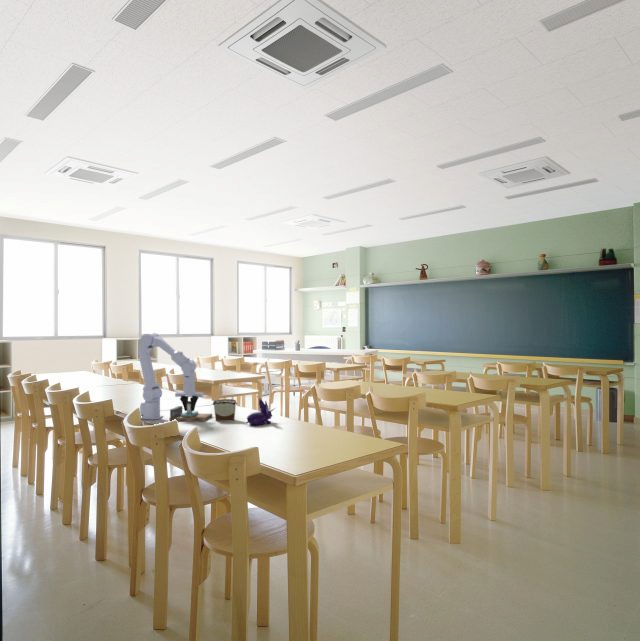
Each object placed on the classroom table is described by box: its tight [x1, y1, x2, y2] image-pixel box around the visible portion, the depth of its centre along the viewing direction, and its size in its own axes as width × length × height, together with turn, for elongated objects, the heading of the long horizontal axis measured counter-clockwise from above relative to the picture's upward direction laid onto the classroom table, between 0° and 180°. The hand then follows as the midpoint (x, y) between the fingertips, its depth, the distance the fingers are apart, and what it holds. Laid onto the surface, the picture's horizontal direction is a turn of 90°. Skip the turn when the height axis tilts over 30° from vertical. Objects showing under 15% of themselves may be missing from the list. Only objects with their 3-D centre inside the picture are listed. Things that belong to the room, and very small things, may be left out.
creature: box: [245, 397, 276, 426], centre depth 236 cm, size 9×18×12 cm, turn 127°
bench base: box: [168, 405, 213, 423], centre depth 250 cm, size 18×12×6 cm, turn 81°
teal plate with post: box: [181, 400, 199, 417], centre depth 250 cm, size 6×8×7 cm
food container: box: [212, 398, 238, 422], centre depth 247 cm, size 12×6×10 cm, turn 84°
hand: (189, 410), depth 250 cm, fingers closed on teal plate with post, 3 cm apart
